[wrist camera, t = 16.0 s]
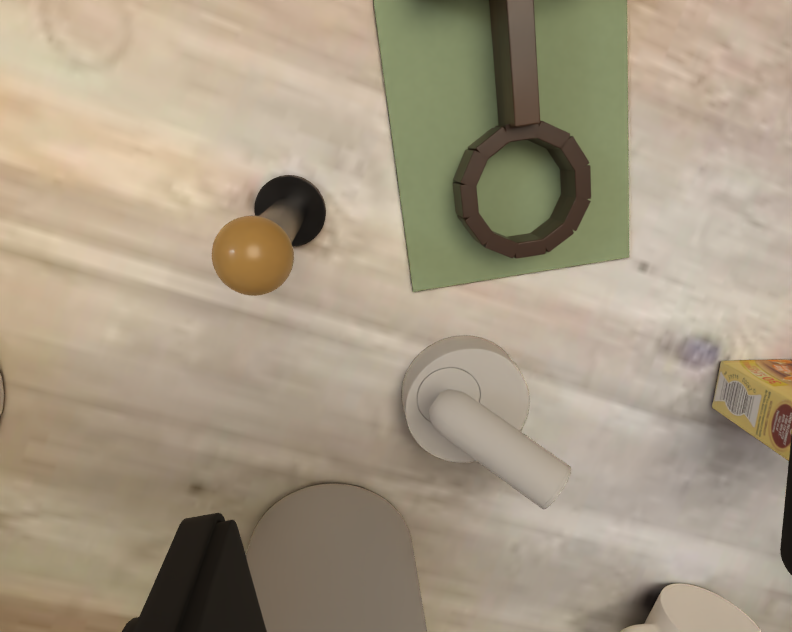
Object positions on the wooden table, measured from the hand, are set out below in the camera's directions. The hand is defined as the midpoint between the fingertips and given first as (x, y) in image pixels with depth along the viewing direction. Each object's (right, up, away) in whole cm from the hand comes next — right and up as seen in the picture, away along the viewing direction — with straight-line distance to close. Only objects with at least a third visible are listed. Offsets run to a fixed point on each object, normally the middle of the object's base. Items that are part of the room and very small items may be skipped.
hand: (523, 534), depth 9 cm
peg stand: (-9, +10, +26) cm, 29 cm away
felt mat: (+5, +16, +25) cm, 30 cm away
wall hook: (+3, -2, +31) cm, 31 cm away
